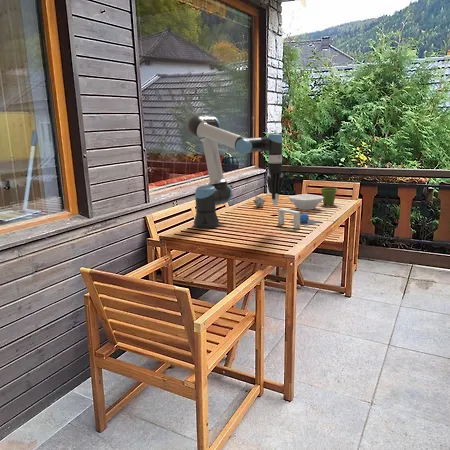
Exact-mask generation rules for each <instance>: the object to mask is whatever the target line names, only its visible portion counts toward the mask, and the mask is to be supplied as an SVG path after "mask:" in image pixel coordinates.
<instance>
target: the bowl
mask: <svg viewBox="0 0 450 450" xmlns="http://www.w3.org/2000/svg"><path fill="white" fill-rule="evenodd" d="M323 198H324V197H322V195H317V194H310V193H302V194H295V195H289V196H288V200H290V202H291V203H293V204H294V207H295V208H297V209H298V210H304V211H308V210H313V209H316V208H317V206H318V205H319V204H320V203H322V201H323Z"/></svg>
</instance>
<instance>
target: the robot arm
mask: <svg viewBox="0 0 450 450" xmlns="http://www.w3.org/2000/svg"><path fill="white" fill-rule="evenodd" d="M186 126H187V131H188V132H189V134H190V135H192V136H193V137H197V138H199V142H202V146H203V150H204V157H205V163H206V168H207V173H208V178H209V183H207V184H205V185H200V186H198V187H196V188H195V190H194V192H195V193H194V196H195V197H194V198H195V217H194V220H193V227H195V228H197V229H211V228H217V227H219V226H220V221H219V217H218V215H217V209H216V207H217V206H221V205H225V204H226V203H228V202H230V200H232V197H233V189H232V187H231V186H230V185H229V184H228V181H227V179H225V178H224V174H223V167H222V162H221V157H220V152H219V145H218V144H221V145H223V146H226V147H229V148H231V149H234V150H236V151H237V152H238V153H239V154H244V155H245V154H249V153H250V154H251V153H257V152H268V156H267V157H268V158H267V159H268V161H267V162H268V165H267V169H268V170H269V171H268V175H266V176H265V177H264V178H265V180H266V183H267V189H268V193H269V194H271V200H272V206H279V203H278V202H279V197H280V195H279V194H281V192H282V190H283V183H284V179H285V176H286V175H285V174H284V173H283V172H282V170H283V163H282V162H283V135H282V134H281V133H269V134H268V135H267V136H268V137H258V136H257V137H255V136H254V137H249V138H248V137H244V136H242V135H239V134H237V133H234V132H230V131H229V130H225V129H222V128H221V123H220V121H219V119H218V118H217V117H215V116H214V115H210V114H209V115H207V114H206V115H193V116H192V117H190V118H189V119H188V121H187V124H186Z"/></svg>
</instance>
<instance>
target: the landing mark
mask: <svg viewBox="0 0 450 450" xmlns="http://www.w3.org/2000/svg"><path fill="white" fill-rule="evenodd" d="M289 223H293V224H294V220H291V221H289ZM318 223H321V221H319V220H315V219H310V218H309V219H308V221H307V222H301V221H300V226H302V225H303V226H311V225H314V224H318Z"/></svg>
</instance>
